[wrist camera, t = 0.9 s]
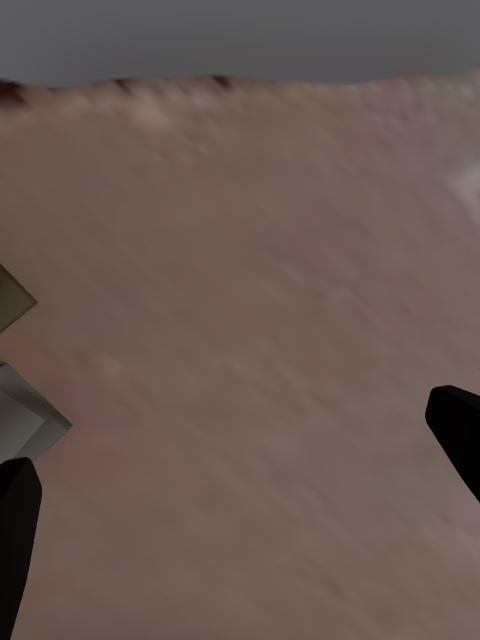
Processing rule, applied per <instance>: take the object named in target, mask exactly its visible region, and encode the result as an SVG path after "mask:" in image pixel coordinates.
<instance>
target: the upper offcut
mask: <svg viewBox="0 0 480 640" xmlns="http://www.w3.org/2000/svg"><path fill="white" fill-rule="evenodd" d="M54 411H55V409H54V408H52V407H51V406H50V405H48V404H47V403H45V402H44V401H42V400H41V399H40V398H38V397H37V396H35V395H34V394H32V393H31V392H29V391H28V390H27V389H25V388H24V387H22V386H21V385H19V384H18V383H17V382H15V381H14V380H12V379H11V378H9V377H8V376H6V375H5V374H4V373H2V372H1V371H0V464H1V463H3V462H4V461H6V460H9V459H14V458H15V457H16V456H17V454H18V453H19V452H20V451H21V450H22V449H23V447H24V446H25V445H26V444H27V443H28V442H29V440H30V439H31V438H32V437H33V436H34V435H35V433H36V432H37V431H38V430H39V429H40V428H41V426H42V425H43V424H44V423H45V422H46V421H47V419H48V418H49V417H50V416H51V415H52V414H53V412H54Z"/></svg>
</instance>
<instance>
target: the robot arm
mask: <svg viewBox="0 0 480 640" xmlns="http://www.w3.org/2000/svg"><path fill="white" fill-rule="evenodd" d="M425 418H426V422H427V424H428V426H429V427H430V429H431V431H432V432H433V434H434V435H435V437H436V439H437V440H438V442H439V443H440V445H441V447H442V448H443V450H444V451H445V453H446V454H447V456H448V458H449V459H450V461H451V462H452V464H453V466H454V467H455V469H456V470H457V472H458V473H459V475H460V476H461V478H462V479H463V481H464V482H465V484H466V485H467V486H468V488H469V489H470V491H471V492H472V493H473V495H474V496H475V497H476V499H477V500H478V501H479V502H480V396H479V395H476V394H474V393H471V392H468V391H465V390H463V389H460V388H457V387H455V386H452V385H445V386H439V387H435V388H433V389H432V390H431V392H430V396H429V400H428V404H427V408H426V412H425ZM41 499H42V486H41V483H40V480H39V478H38V475H37V473H36V470H35V468H34V465H33V463H32V461H31V459H30V458H28V457H20V458H14V459H9V460H6V461H4V462H3V463H1V464H0V640H10V638H11V635H12V631H13V628H14V624H15V621H16V617H17V613H18V610H19V606H20V603H21V599H22V596H23V592H24V588H25V585H26V581H27V576H28V571H29V566H30V561H31V555H32V549H33V544H34V538H35V533H36V527H37V521H38V516H39V510H40V504H41Z"/></svg>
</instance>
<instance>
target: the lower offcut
mask: <svg viewBox="0 0 480 640" xmlns="http://www.w3.org/2000/svg"><path fill="white" fill-rule="evenodd" d="M0 371H1V372H2V373H4V374H5V375H6V376H8V377H9V378H11V379H12V380H14V381H15V382H17V383H18V384H19V385H21V386H22V387H24V388H25V389H27V390H28V391H29V392H31V393H32V394H34V395H35V396H37V397H38V398H40V399H41V400H42V401H44V402H45V403H47V404H48V405H50V406H51V407H52V408H54V407H53V406H52V405H51V404H50V403H49V402H48V401H47V400H46V399H45V398H44V397H43V396H42V395H40V394H39V393H38V392H37V391H36V390H35V389H34V388H33V387H32V386H31V385H30V384H29V383H28V382H27V381H26V380H25V379H24V378H23V377H22V376H20V375H19V374H18V373H17V372H16V371H15V370H14V369H13V368H12V367H11V366H10V365H9V364H8V363H7V364H5V365H3V366H1V367H0ZM54 409H55V408H54ZM71 426H72V424H71V423H70V422H69V421H68V420H67V419H66V418H65V417H64V416H63V415H62V414H61V413H59V412H58V411H57V410H56V409H55V411H54V412H53V414H52V415H51V416H50V417H49V418H48V419H47V421H46V422H45V423H44V424H43V425H42V426H41V428H40V429H39V430H38V431H37V432H36V433H35V435H34V436H33V437H32V438H31V439H30V440H29V442H28V443H27V444H26V445H25V446H24V447H23V449H22V450H21V451H20V452H19V453H18V454H17V456H16V457H15V458H20V457H28V458H30V459H31V461H32V462H33V461H34V460H36V459H37V458H38V457H39V456H40V455H41V454H42V453H44V452H45V451H46V450H47V449H48V448H49V447H51V446H52V445H53V444H54V443H55V442H56V441H57V440H59V439H60V438H61V437H62V436H63V435H64V434H66V433H67V432H68V430H69V429H70V428H71Z"/></svg>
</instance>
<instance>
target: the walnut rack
mask: <svg viewBox="0 0 480 640" xmlns="http://www.w3.org/2000/svg"><path fill="white" fill-rule="evenodd" d="M37 303H38V302H37V301H36V300H35V299H34V298H33V297H32V296H31V295H30V294H29V293H28V292H27V291H26V290H25V289H24V288H23V287H22V285H21V284H20V283H19V282H18V281H17V280H16V279H15V278H14V277H13V276H12V275H11V274H10V273H9V272H8V271H7V270H6V269H5V268H4V267H3V266H2V265H1V264H0V333H1V332H2V331H4V330H5V329H6V328H7V327H9V326H10V325H11V324H12V323H14V322H15V321H16V320H17V319H19V318H20V317H21V316H22V315H23V314H25V313H26V312H27V311H28V310H30V309H31V308H32V307H33V306H35V305H36V304H37Z"/></svg>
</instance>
